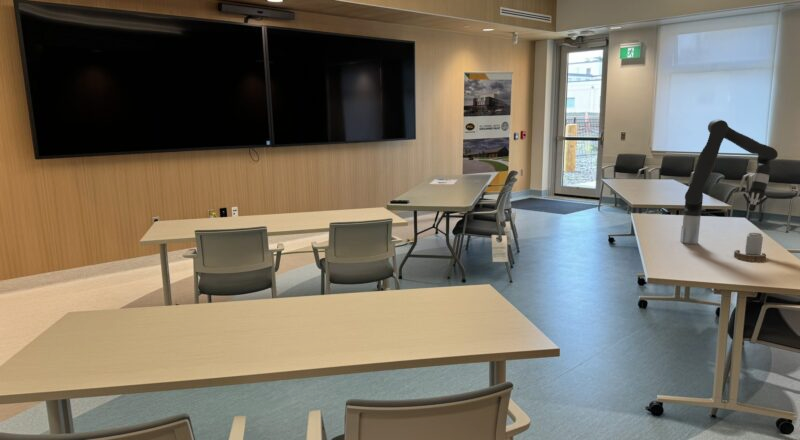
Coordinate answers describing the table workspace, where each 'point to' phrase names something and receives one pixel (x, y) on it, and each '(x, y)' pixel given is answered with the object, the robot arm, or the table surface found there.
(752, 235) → the can
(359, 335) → the table surface
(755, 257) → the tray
